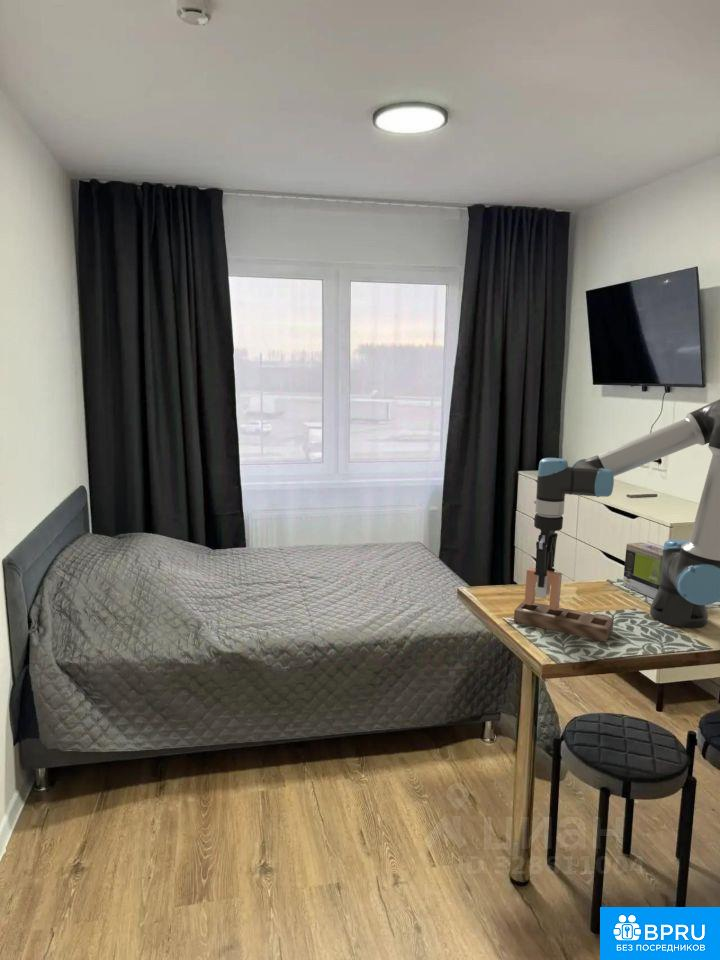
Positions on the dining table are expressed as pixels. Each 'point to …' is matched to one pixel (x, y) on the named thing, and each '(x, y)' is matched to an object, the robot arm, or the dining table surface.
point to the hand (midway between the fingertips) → (542, 595)
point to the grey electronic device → (643, 567)
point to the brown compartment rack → (565, 621)
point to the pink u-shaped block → (553, 580)
